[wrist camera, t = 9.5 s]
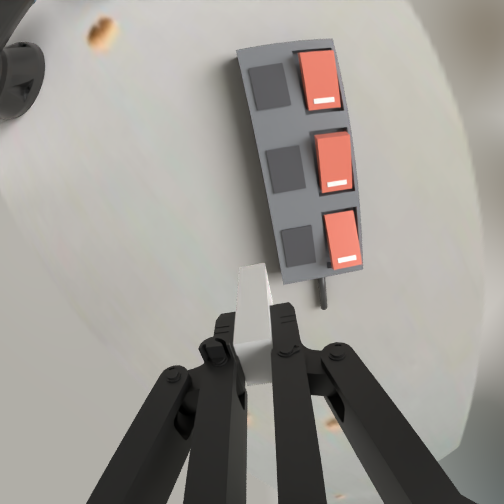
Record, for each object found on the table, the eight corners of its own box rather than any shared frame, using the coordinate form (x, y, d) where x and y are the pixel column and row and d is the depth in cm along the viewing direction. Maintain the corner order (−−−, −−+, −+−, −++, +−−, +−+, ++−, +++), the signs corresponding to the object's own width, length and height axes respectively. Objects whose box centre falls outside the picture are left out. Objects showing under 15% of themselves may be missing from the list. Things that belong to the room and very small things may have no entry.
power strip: (288, 312, 53) (290, 327, 49) (237, 56, 35) (235, 49, 31) (356, 299, 52) (363, 312, 48) (325, 45, 34) (333, 38, 30)
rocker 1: (306, 108, 36) (309, 110, 35) (297, 52, 31) (300, 53, 30) (337, 104, 36) (340, 107, 34) (329, 50, 31) (333, 50, 29)
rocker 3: (331, 268, 43) (334, 270, 42) (322, 215, 43) (324, 214, 41) (359, 263, 43) (362, 264, 41) (350, 211, 43) (353, 210, 41)
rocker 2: (319, 187, 41) (322, 193, 40) (314, 135, 36) (317, 139, 34) (348, 183, 40) (352, 188, 39) (345, 131, 35) (350, 135, 34)
